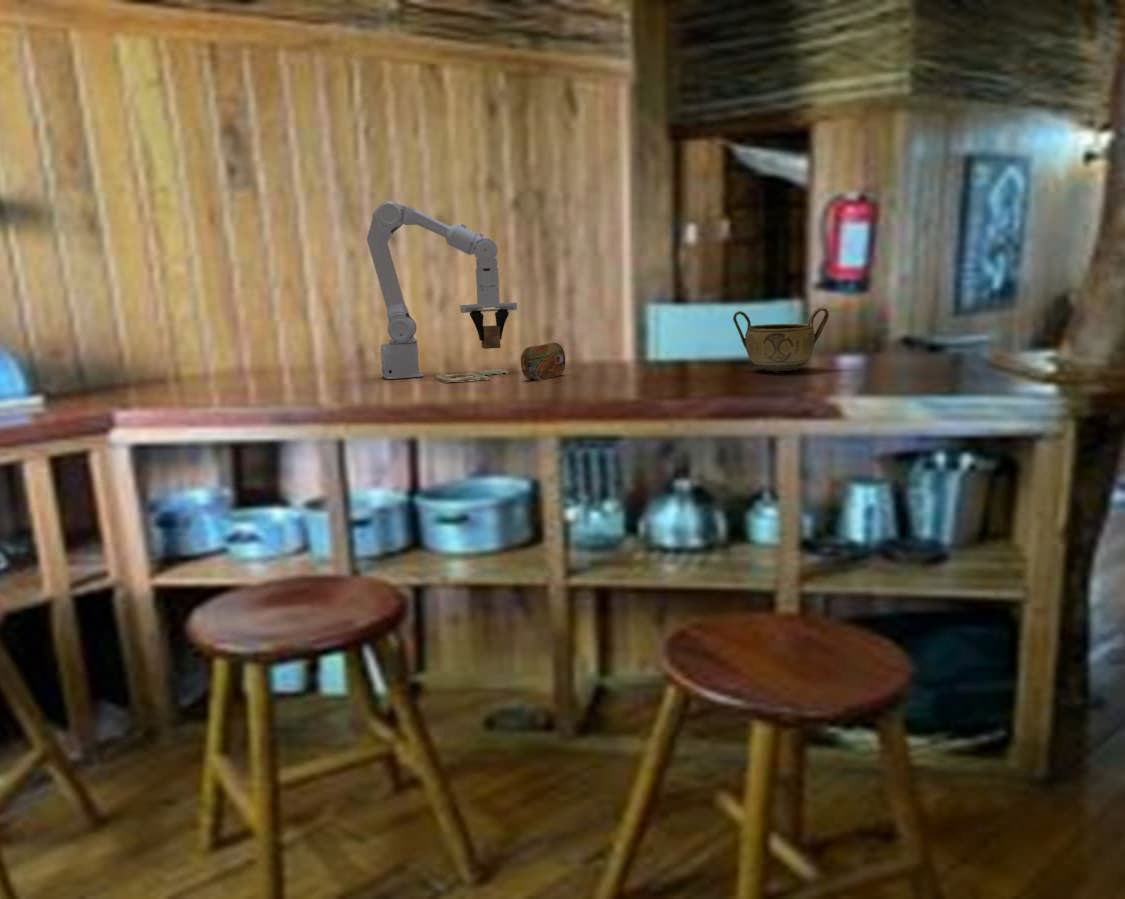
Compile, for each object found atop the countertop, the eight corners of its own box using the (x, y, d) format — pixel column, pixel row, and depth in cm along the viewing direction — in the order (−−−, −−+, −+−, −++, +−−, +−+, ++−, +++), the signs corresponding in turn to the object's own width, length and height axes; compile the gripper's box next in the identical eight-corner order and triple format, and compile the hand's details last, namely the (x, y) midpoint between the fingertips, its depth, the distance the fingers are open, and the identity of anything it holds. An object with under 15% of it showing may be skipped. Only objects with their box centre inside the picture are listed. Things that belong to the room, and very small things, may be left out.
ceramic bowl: (825, 366, 244) (825, 305, 241) (830, 374, 228) (831, 309, 225) (733, 368, 248) (733, 308, 245) (732, 376, 232) (732, 311, 229)
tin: (529, 382, 235) (527, 346, 234) (519, 381, 237) (517, 346, 236) (567, 375, 247) (565, 341, 245) (557, 374, 249) (555, 341, 247)
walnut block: (485, 348, 252) (484, 327, 251) (481, 347, 255) (480, 326, 254) (500, 347, 253) (499, 326, 252) (496, 346, 257) (495, 325, 255)
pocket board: (445, 383, 237) (445, 380, 237) (435, 378, 249) (435, 375, 248) (489, 380, 241) (489, 377, 241) (477, 375, 252) (477, 372, 252)
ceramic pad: (482, 375, 251) (482, 373, 251) (475, 373, 258) (475, 371, 258) (508, 373, 253) (508, 371, 253) (501, 371, 260) (501, 369, 260)
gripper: (463, 287, 246) (466, 342, 248) (519, 285, 250) (521, 339, 253) (457, 287, 252) (460, 340, 255) (511, 285, 257) (514, 337, 259)
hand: (490, 339), depth 254 cm, fingers closed on walnut block, 4 cm apart
